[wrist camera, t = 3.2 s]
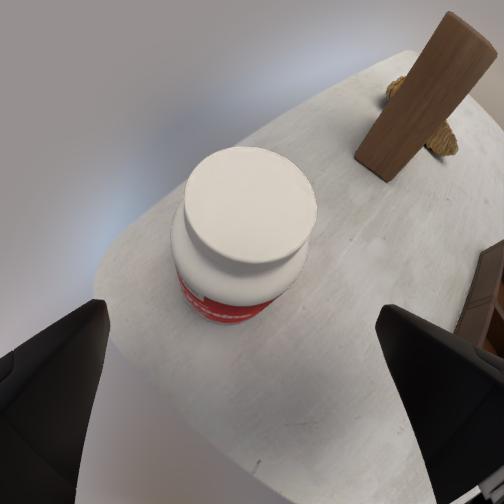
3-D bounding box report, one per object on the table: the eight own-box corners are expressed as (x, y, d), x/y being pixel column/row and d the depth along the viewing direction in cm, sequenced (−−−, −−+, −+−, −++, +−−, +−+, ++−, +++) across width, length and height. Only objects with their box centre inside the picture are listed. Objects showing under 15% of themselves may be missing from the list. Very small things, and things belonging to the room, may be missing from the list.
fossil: (390, 87, 34) (374, 98, 30) (413, 64, 29) (401, 69, 25) (443, 146, 34) (437, 168, 30) (469, 126, 29) (469, 146, 25)
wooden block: (376, 120, 30) (448, 7, 13) (406, 142, 29) (487, 37, 13) (352, 158, 26) (447, 11, 10) (388, 185, 26) (500, 54, 9)
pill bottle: (164, 293, 19) (123, 216, 9) (213, 225, 21) (226, 110, 11) (241, 343, 18) (289, 324, 8) (285, 270, 21) (358, 185, 11)
